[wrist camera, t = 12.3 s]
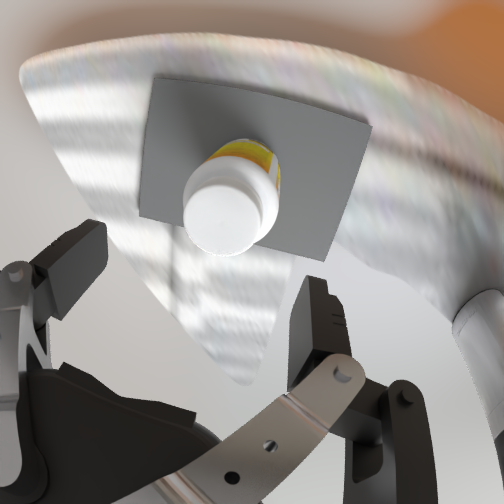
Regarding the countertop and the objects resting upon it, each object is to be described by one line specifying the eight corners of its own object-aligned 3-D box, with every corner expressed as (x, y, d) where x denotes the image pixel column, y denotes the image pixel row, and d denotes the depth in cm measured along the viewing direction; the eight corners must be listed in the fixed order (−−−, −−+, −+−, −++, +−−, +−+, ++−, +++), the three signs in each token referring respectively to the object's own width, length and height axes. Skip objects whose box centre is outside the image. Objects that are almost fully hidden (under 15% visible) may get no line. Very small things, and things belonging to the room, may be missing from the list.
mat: (370, 125, 20) (372, 126, 20) (323, 257, 27) (324, 261, 26) (158, 78, 20) (154, 77, 19) (142, 213, 27) (139, 216, 26)
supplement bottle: (201, 154, 22) (148, 195, 14) (263, 126, 21) (247, 147, 12) (231, 211, 25) (200, 281, 16) (291, 188, 23) (294, 251, 14)
